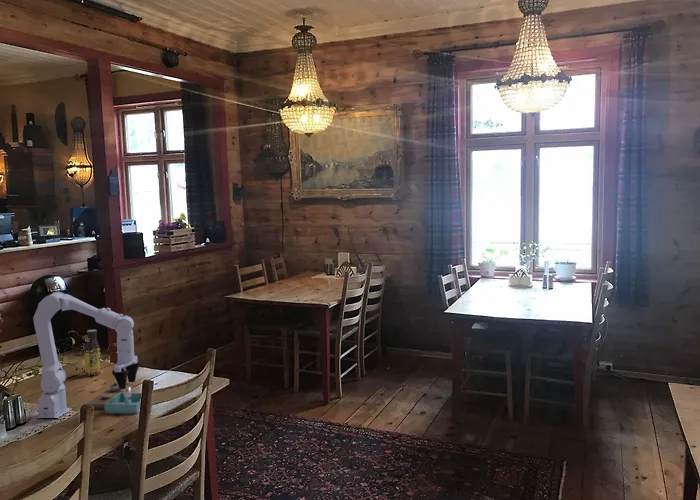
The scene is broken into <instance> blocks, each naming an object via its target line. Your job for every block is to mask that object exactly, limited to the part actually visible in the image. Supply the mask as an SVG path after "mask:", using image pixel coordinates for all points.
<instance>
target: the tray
mask: <svg viewBox="0 0 700 500" xmlns="http://www.w3.org/2000/svg"><path fill="white" fill-rule="evenodd" d="M141 393H142V392H131V401H132V404H125V400H124V393H119V394H117V395H116V396H115V397H113V398H112V399H111V400H109V401H108V402H107V403H105V404H104V405H105V409H104V414H114V415H115V414H120V415H121V414H123V415H125V414H126V415H128V414H129V415H138V414H139V413H140V412H139V409H140V402H141V400H140V399H141Z"/></svg>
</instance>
